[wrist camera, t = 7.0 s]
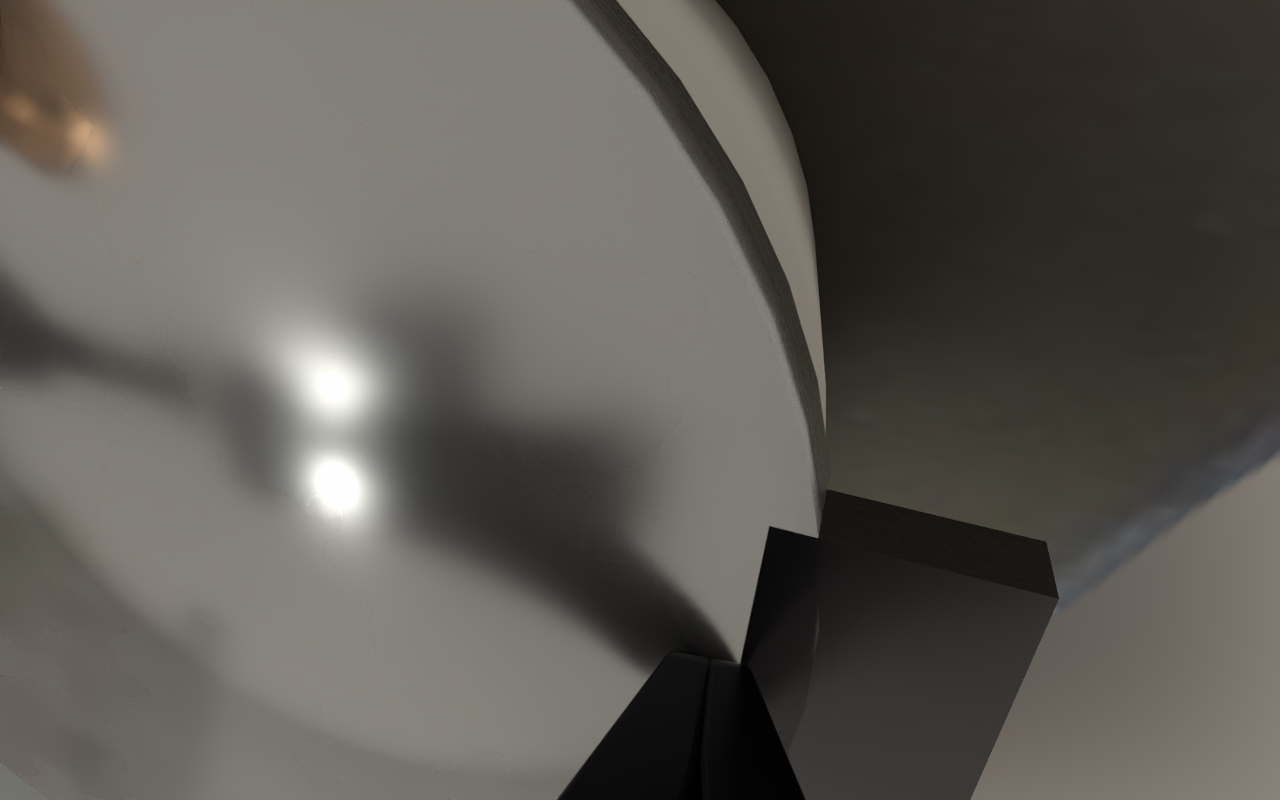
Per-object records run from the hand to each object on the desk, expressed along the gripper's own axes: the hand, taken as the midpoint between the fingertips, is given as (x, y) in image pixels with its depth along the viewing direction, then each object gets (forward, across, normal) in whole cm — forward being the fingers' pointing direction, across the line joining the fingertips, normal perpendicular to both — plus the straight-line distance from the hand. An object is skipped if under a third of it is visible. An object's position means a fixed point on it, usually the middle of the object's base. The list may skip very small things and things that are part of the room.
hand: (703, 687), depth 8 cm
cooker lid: (+2, +6, 0) cm, 6 cm away
